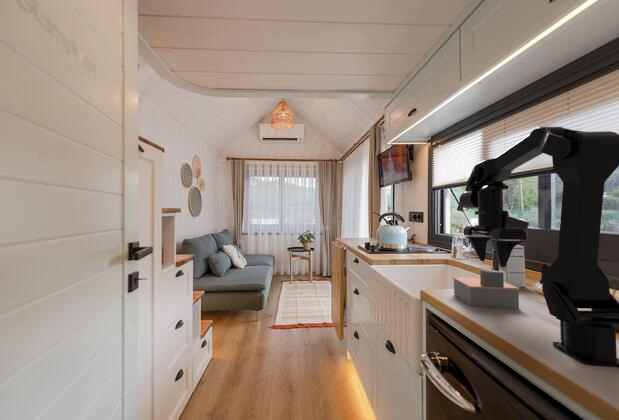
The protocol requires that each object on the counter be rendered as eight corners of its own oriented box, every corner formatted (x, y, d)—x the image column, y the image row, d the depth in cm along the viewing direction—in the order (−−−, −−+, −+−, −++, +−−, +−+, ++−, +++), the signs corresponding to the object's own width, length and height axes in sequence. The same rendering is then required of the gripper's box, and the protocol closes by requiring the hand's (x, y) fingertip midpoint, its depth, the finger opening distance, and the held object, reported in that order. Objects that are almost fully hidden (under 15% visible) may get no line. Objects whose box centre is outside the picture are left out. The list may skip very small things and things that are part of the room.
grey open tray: (518, 308, 66) (518, 289, 66) (470, 306, 67) (470, 287, 67) (495, 296, 76) (495, 280, 76) (454, 294, 77) (453, 278, 77)
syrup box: (526, 287, 85) (525, 245, 86) (507, 286, 86) (506, 245, 87) (516, 283, 91) (515, 243, 91) (498, 282, 92) (497, 243, 92)
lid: (519, 289, 66) (519, 273, 66) (470, 288, 67) (469, 271, 67) (495, 279, 76) (495, 265, 76) (452, 278, 77) (452, 264, 78)
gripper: (551, 205, 58) (553, 271, 57) (500, 208, 77) (501, 258, 76) (500, 205, 59) (502, 270, 59) (462, 208, 78) (463, 258, 77)
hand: (492, 263), depth 68 cm, fingers open, 9 cm apart
